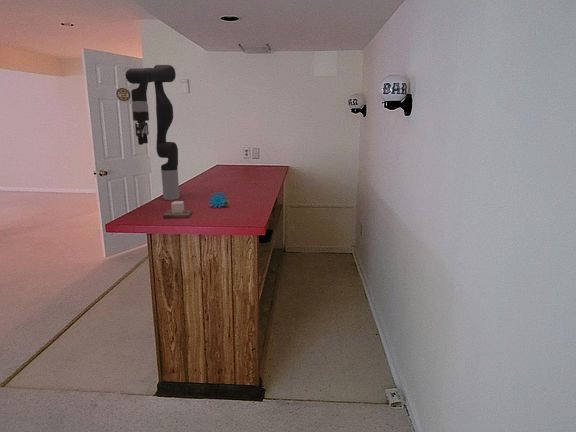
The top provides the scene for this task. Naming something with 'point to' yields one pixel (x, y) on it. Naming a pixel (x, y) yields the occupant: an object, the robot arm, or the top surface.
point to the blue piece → (218, 200)
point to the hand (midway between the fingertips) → (143, 144)
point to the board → (178, 214)
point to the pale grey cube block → (177, 206)
